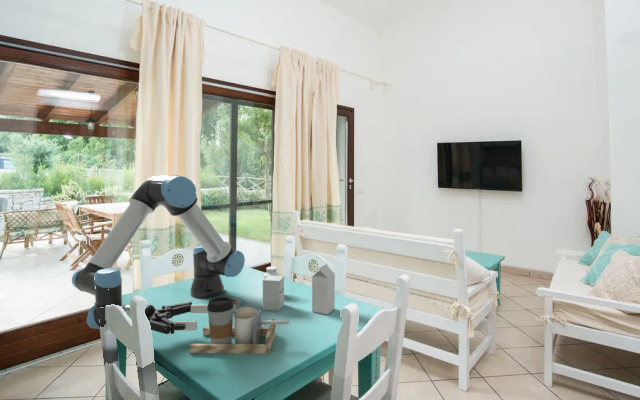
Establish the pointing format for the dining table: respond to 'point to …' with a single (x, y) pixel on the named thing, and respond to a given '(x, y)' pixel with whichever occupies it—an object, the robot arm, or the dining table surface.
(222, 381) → the dining table surface
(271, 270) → the supplement bottle
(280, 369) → the dining table surface
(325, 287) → the milk carton
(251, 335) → the cream jar
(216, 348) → the lane
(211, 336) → the coffee cup
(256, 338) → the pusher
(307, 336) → the dining table surface
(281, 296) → the supplement box
